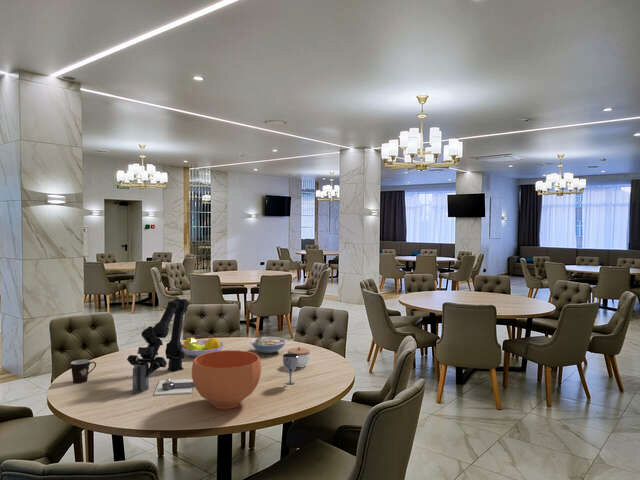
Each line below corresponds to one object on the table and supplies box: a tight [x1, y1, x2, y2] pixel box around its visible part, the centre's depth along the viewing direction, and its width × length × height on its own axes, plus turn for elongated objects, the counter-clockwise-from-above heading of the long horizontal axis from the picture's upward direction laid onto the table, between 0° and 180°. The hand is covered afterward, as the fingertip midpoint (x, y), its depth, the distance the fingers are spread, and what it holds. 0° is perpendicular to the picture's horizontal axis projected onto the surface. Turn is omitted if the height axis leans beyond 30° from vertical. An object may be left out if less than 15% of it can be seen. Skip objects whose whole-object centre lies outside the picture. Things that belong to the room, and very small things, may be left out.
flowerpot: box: [191, 349, 262, 410], centre depth 204 cm, size 30×30×20 cm
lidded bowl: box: [287, 346, 311, 368], centre depth 263 cm, size 13×13×11 cm
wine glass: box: [282, 352, 298, 385], centre depth 231 cm, size 8×8×15 cm
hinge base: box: [153, 377, 195, 396], centre depth 225 cm, size 20×18×6 cm
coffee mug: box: [70, 359, 97, 384], centre depth 233 cm, size 12×9×10 cm
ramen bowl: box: [250, 334, 287, 354], centre depth 293 cm, size 25×23×8 cm
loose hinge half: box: [132, 362, 150, 395], centre depth 219 cm, size 10×6×12 cm, turn 170°
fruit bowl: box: [182, 336, 225, 358], centre depth 285 cm, size 28×27×11 cm
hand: (140, 376), depth 220 cm, fingers closed on loose hinge half, 6 cm apart
